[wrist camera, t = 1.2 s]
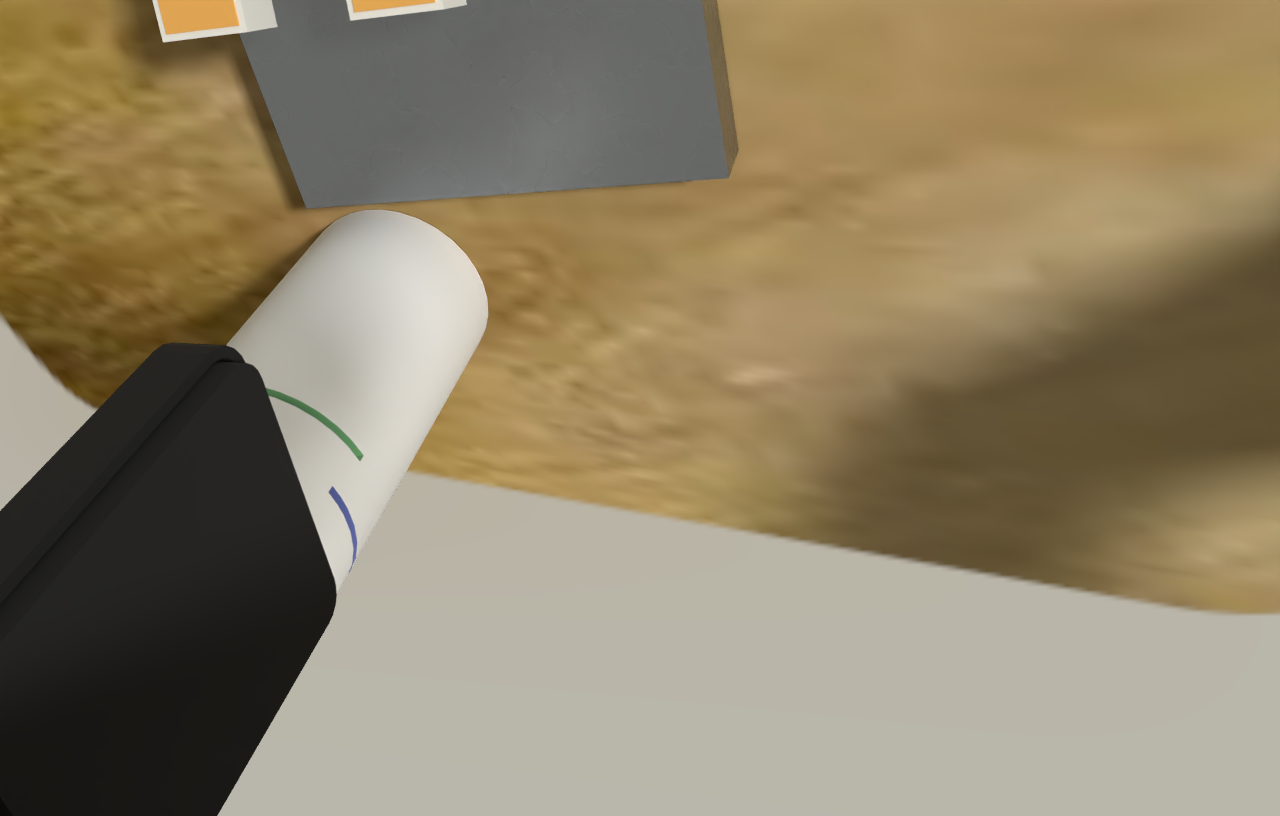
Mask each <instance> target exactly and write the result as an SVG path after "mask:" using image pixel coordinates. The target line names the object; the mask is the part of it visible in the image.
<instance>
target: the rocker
mask: <svg viewBox="0 0 1280 816" xmlns="http://www.w3.org/2000/svg"><path fill="white" fill-rule="evenodd" d="M152 1H153V5H154V9H155V12H156V16H157V20H158V24H159V28H160V32H161V36H162V40H163V42H170V41H178V40H187V39H195V38H203V37H211V36H219V35H228V34H236V33H244V32H251V31H257V30H262V29H268V28H274V27H277V22H276V18H275V13H274V9H273V4H272V0H152Z"/></svg>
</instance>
